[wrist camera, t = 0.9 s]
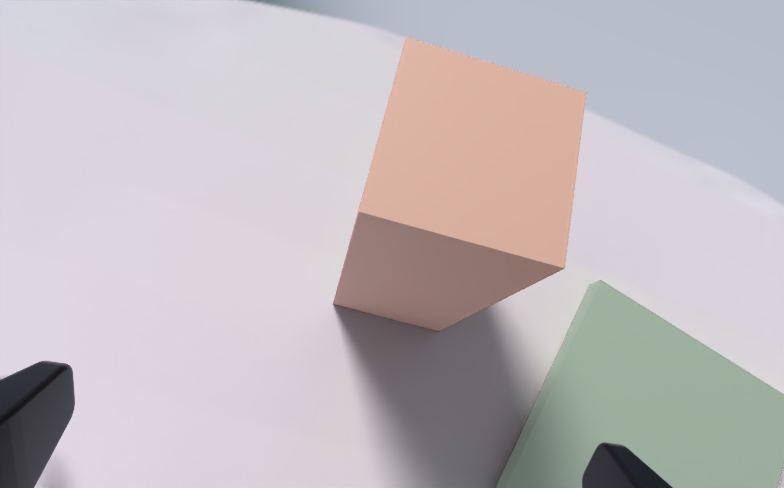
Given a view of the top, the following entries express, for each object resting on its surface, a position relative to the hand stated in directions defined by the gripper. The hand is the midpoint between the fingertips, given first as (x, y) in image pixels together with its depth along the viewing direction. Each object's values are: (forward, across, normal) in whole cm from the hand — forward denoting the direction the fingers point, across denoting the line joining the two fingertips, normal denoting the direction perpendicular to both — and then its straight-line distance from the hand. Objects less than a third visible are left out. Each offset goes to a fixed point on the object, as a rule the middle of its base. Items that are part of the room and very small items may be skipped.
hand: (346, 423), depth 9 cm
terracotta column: (+15, -2, +4) cm, 15 cm away
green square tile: (+10, -15, +9) cm, 20 cm away
